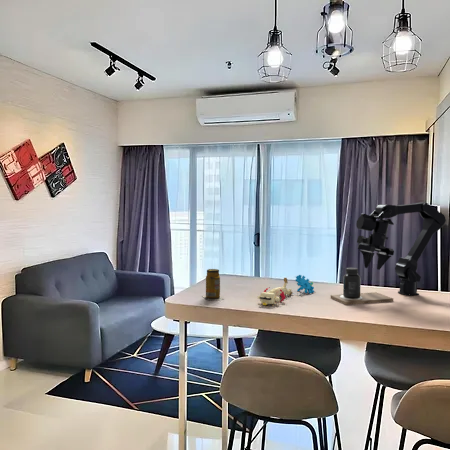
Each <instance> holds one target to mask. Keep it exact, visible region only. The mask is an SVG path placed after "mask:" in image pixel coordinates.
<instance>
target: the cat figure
mask: <svg viewBox="0 0 450 450" xmlns="http://www.w3.org/2000/svg"><path fill="white" fill-rule="evenodd" d="M283 282H284V283H283V285H282V286H281V287H280V286H278V287H274V288H272V289H271V290H269V291H268V289H270V288H271V287H270V286H269V287H267V288H266V289H264V290H263V292H261V293H260V295H258V296H257V299H258V300H259V301H260V303H261V304H262V305H263V306H267V305H276V303H279V302H280V303H282V302H283V301H284V300H286V295H288V296H292V295H293V294H294V293H293V291H292V288H287V286H288V278H287V277H283ZM279 296H280V297H281V299H280V297H279Z"/></svg>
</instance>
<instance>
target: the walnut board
mask: <svg viewBox="0 0 450 450" xmlns="http://www.w3.org/2000/svg"><path fill="white" fill-rule="evenodd" d="M330 299H331V300H334V301H336V302H338V303H340V304H342V305H345V306H348V305H362V304H363V305H364V304H377V303H378V304H379V303H389V302H390V303H392V302H394V298H392V297H391V296H388V295H385V294H382V293H379V292H376V291H375V292H373V291H372V292H360V298H357V299H350V298H345V297H344V296H343V294H342V293H341V294H331V295H330Z"/></svg>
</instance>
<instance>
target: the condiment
mask: <svg viewBox="0 0 450 450" xmlns="http://www.w3.org/2000/svg"><path fill="white" fill-rule="evenodd" d="M220 276H221V275H220V270H219V269H217V268H208V269H206V276H205V295H202V297H203V299H205V300H207V301H220V300H221V301H222V300H225V298H224V297H222V296H221V277H220Z"/></svg>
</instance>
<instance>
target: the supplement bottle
mask: <svg viewBox="0 0 450 450" xmlns="http://www.w3.org/2000/svg"><path fill="white" fill-rule="evenodd" d="M342 278H343V281H342V282H343V284H342V285H343V287H342V288H343V289H342V290H343V296H344V297H345V298H350V299H357V298H360V293H361V285H362V283H361V282H362V281H361V276H360V275H359V268H357V267H346V268H345V274H344V275H343V277H342Z"/></svg>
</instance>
